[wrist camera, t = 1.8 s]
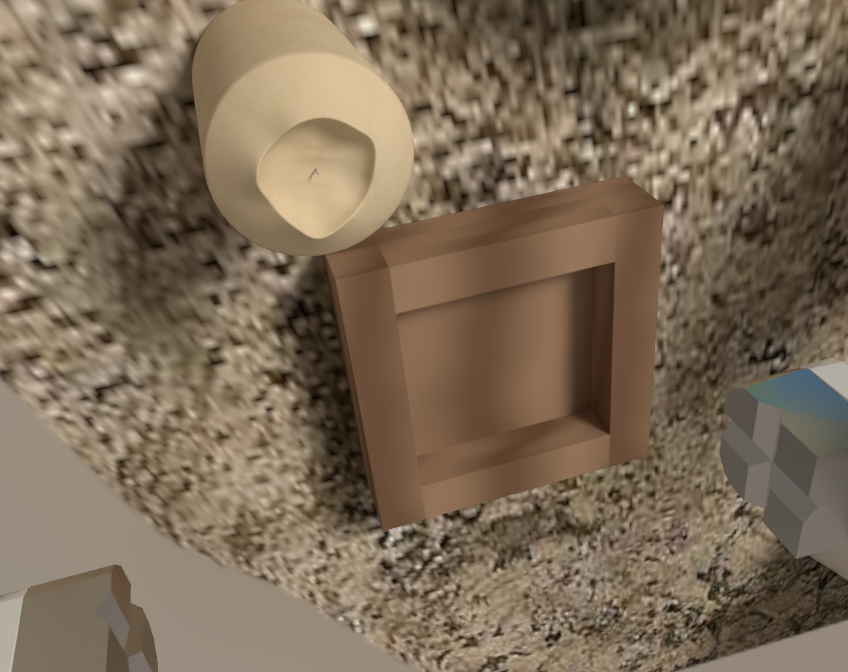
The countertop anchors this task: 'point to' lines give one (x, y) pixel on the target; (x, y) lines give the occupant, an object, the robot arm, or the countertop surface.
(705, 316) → the countertop surface
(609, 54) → the countertop surface
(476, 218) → the brown shallow square tray
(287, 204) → the candle
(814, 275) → the countertop surface
